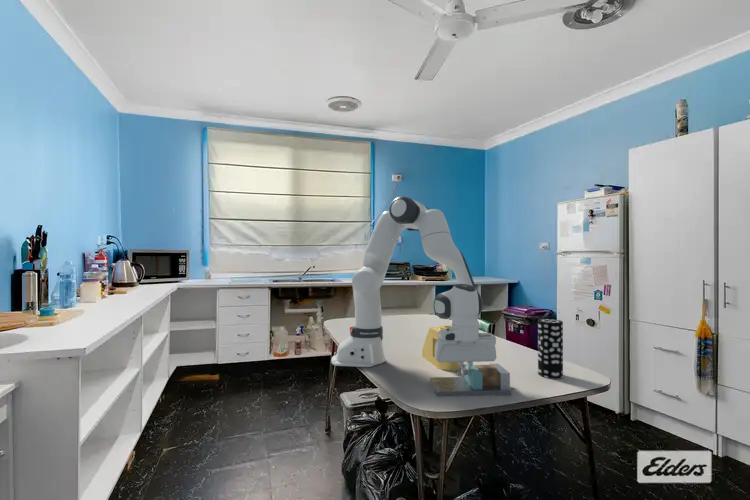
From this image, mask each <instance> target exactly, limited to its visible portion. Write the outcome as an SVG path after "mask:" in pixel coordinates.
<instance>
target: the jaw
mask: <svg viewBox="0 0 750 500" xmlns="http://www.w3.org/2000/svg"><path fill="white" fill-rule="evenodd" d="M467 365H468V363H465V364H464V368H466V367H467ZM464 377H465V380H466V381H467V382H468V383H469V385H470V386H471V387H472V388H473V389H482V373H481V372H480V371H479V370H478V369H477V368H476V367H475V365H474V364H473V365H472V367H471V369H470V370H469V375H464Z"/></svg>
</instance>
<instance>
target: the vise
mask: <svg viewBox="0 0 750 500" xmlns="http://www.w3.org/2000/svg"><path fill="white" fill-rule="evenodd" d="M489 365H494V366H495V367H496V368H497V386H482V389H473V388H472V387H471V386H470V385H469V383H468V382H467V381H466V380H465V376H443V377H442V376H439V377H437V376H436V377H434V376H433V377H431V376H430V377H429V383H430V385H431V387H432V389H433V390H434V393H435V394H436V397H455V396H456V397H461V396H462V397H463V396H464V397H465V396H466V397H467V396H470V397H471V396H479V397H480V396H512V395H513V393H512V392H513V391H512V389H511V375H510V374H511V372H509V371H508V370H506V368H504V367H503V366H502V365H501V364H499V363H489Z"/></svg>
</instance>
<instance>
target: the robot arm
mask: <svg viewBox="0 0 750 500" xmlns="http://www.w3.org/2000/svg"><path fill="white" fill-rule="evenodd" d="M388 209H389V210H385V211H384V212H382V213H381V214H380V216H379V218H378V220H377V221H376V224H375V226H374V228H373V231H372V233H371V235H370V238H369V241H368V243H367V246H366V249H365V251H364V252H365V254H364V257H363V261H362V263H361V267H360V268H359V269H358V270H356V271H355V272H354V273H353V276H352V280H351V285H352V293H353V295H352V296H353V301H354V324H355V325H350V326H349V333H350V335H349V336H348V337H347V338H346V339H344V340H343V341H341V342H340V344H339V345H338V347H337V351H336V354H334V355H333V356H331V364H332V365H333V366H335V367H336V366H337V367H353V368H354V367H356V368H357V367H359V368H371V367H374V366H377V365H381V364H383V363H385V362H386V360H387V359H386V356H385V352H384V347H383V345H384V344H383V339H384V328H383V326H382V325H383V324H382V315H383V313H382V303H381V291H380V290H381V287H382V285H383V283H384V280H385V278H386V276H387V275H386V274H387V271H388V269H389V266H390V262H391V259H392V257H393V254H394V251H395V249H396V245H397V244H398V241H399V238H400V236H401V233H402V232H403V231H404V230H408V231H409V232H411V231H413V232H414V231H416V232H417V231H418V232H419V233H420V238H421V245H422V249H423V251H424V253H425V255H426V256H427V257H428V258H429V259H431V260H433V261H434V262H437V263H440V264H442V265H443V266H446V267H448V268H449V269H450V270H452V272H453V273H454V276H455V279H456V281H457V284H455V285H453V286H452V288H451V289H450V290H449V289H448V290H446V291H444V292H441V293H438V294H436V296H435V298H434V300H433V312H434V313H435V315H436V316H437V318H440V319H443V320H451V325H452V326H451V327H449V328H446V329H443V330H440V331H438V336H439V338H438V339H437V341H436V345H435V358H436V360H437V361H438V362H458V364H459V366H460V370H461V371H460V372H461V375H462V376H465V375H469V370H470V369H471V367H472V365H474V362H477V363H479V362H482V363H483V362H495V361H496V359H497V350H496V344H497V338H496V336H495V335H494V334H493V333H491V332H480V326H479V325H480V324H479V320H478V319H479V318H478V317H479V316H480V314H481V313H482V311H483V307H484V301H483V298H482V296H481V294H480V293H479V291H478V289H477V286H476V284H475V281H474V278H473V277H472V274H471V271H470V268H469V266H468V262H467V261H466V258H465V256H464V254H463V252H461V250H459V248H458V247H457V246H456V245H455V243H454V240H453V238H452V235H451V231H450V226H449V224H448V221H447V219H446V216H445V214H444V213H443V212H442V210H440V209H437V208H436V209H435V208H431V209H429V208H428V207H427V206H426V205H424V204H422V203H421V202H420V201H417V200H415V199H412V198H411V197H409V196H398V197H396V198H395V199H393V200H392V201H391V203H390V206H389V208H388ZM465 362H466V364H468V365H467V367H466V368H465V367H464V366H465V364H464V363H465Z"/></svg>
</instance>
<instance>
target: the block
mask: <svg viewBox="0 0 750 500" xmlns="http://www.w3.org/2000/svg"><path fill="white" fill-rule="evenodd" d="M474 366H475V367H476V368H477V369H478V370H479V371H480V372H481V373H482V386H497V368H496V367H495V366H494V365H490V364H475V365H474Z"/></svg>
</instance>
